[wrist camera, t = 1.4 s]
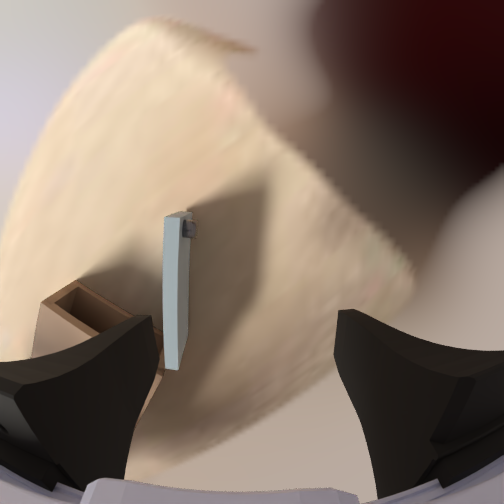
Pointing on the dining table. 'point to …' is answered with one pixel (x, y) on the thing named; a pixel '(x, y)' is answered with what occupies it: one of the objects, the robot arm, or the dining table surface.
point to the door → (176, 284)
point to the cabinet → (82, 324)
